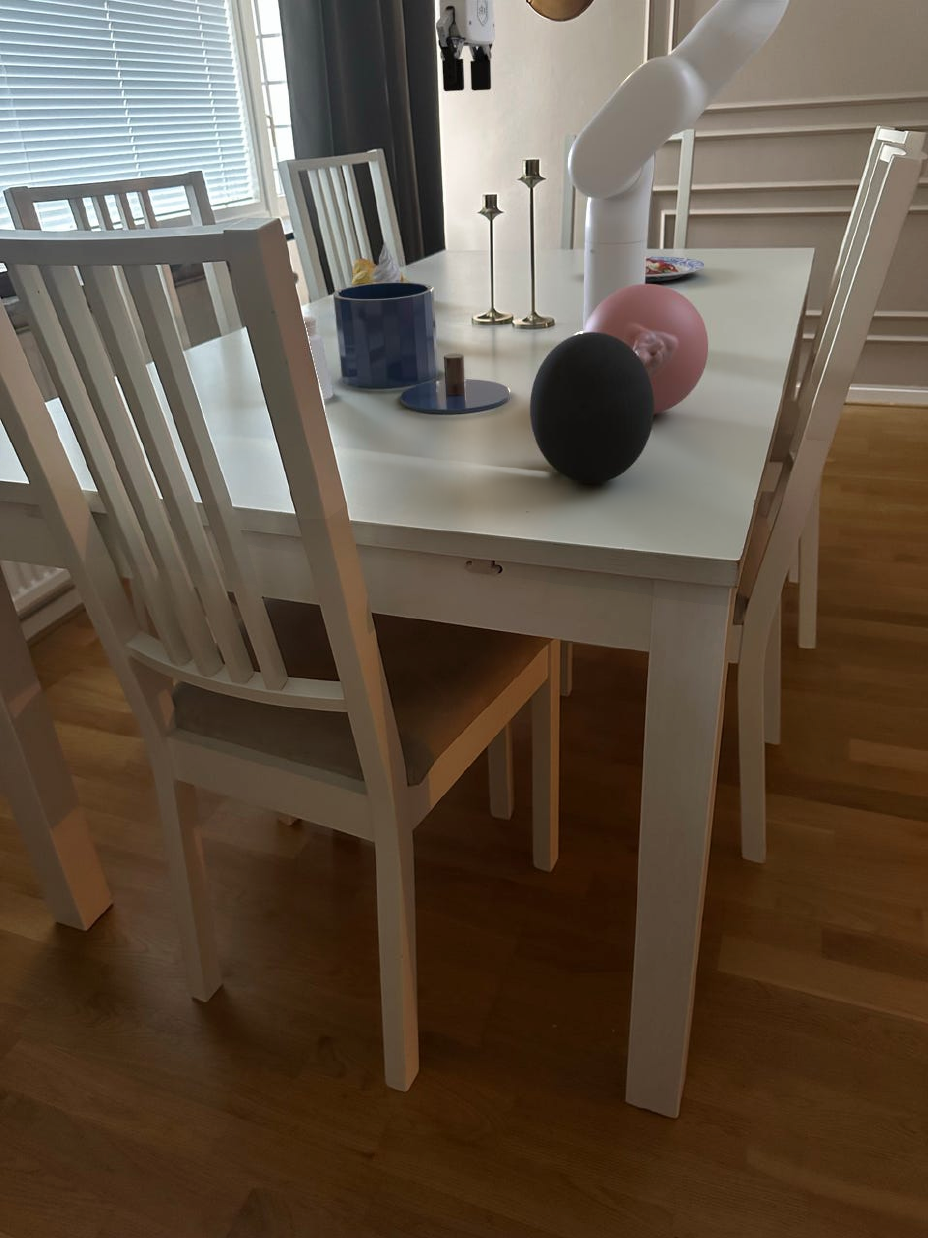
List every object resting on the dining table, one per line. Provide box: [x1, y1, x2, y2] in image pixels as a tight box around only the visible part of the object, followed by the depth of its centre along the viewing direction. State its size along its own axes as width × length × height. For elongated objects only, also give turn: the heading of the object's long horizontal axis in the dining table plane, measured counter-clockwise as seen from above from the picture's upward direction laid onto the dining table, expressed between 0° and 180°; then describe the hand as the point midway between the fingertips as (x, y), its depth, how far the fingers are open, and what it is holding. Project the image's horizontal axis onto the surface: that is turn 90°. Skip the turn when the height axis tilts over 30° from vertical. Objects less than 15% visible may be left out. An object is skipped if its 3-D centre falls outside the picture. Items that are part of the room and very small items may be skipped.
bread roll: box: [350, 257, 410, 287], centre depth 190 cm, size 13×10×8 cm
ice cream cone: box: [373, 240, 402, 283], centre depth 162 cm, size 5×5×15 cm
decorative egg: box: [529, 332, 655, 484], centre depth 93 cm, size 12×12×15 cm
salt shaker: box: [303, 315, 334, 400], centre depth 125 cm, size 5×5×11 cm
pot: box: [332, 281, 439, 390], centre depth 133 cm, size 14×14×12 cm
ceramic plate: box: [645, 256, 706, 283], centre depth 203 cm, size 26×26×3 cm
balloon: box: [582, 283, 709, 415], centre depth 111 cm, size 15×20×15 cm
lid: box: [400, 352, 511, 415], centre depth 123 cm, size 15×15×6 cm
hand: (467, 90), depth 141 cm, fingers open, 9 cm apart
